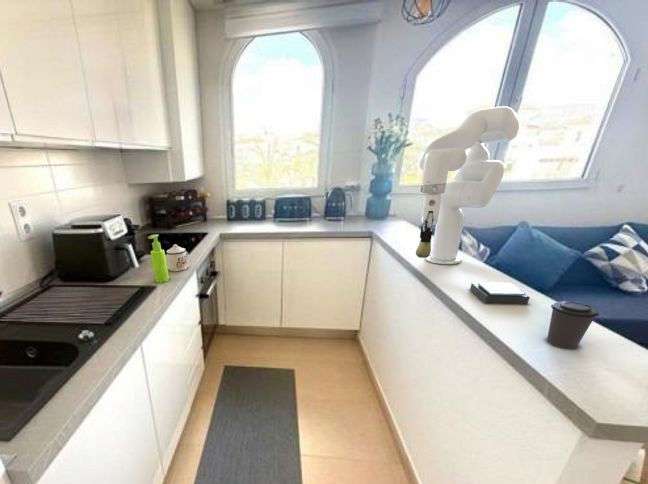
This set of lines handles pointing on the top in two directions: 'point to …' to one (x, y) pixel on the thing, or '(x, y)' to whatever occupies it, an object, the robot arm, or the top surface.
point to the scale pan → (501, 289)
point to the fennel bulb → (424, 249)
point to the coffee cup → (569, 323)
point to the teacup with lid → (177, 258)
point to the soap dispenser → (158, 261)
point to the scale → (497, 296)
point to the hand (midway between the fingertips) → (425, 239)
